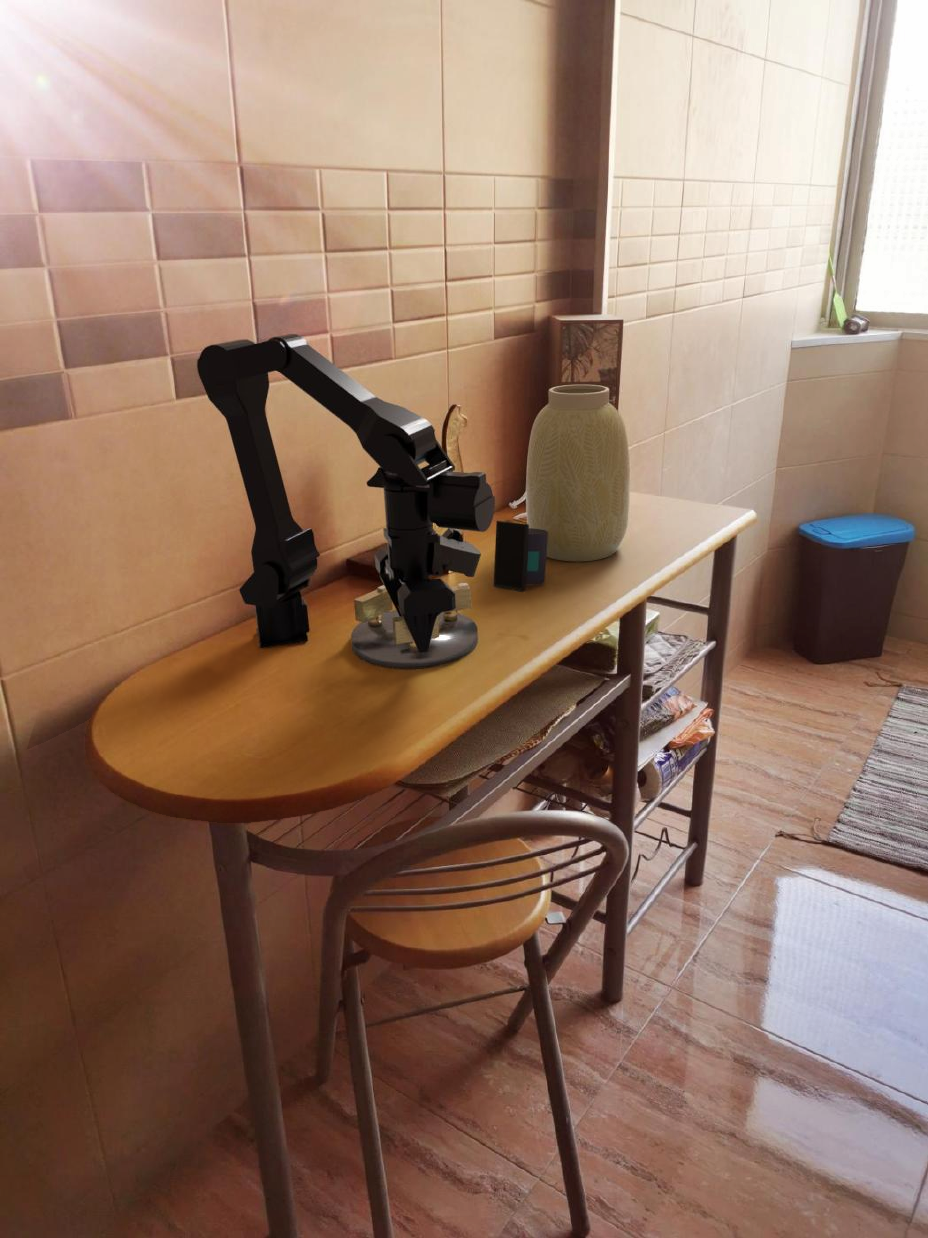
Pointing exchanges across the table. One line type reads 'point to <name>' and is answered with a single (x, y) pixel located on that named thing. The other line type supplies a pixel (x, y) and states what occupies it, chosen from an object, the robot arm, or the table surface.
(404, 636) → the knob front
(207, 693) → the table surface
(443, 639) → the plate
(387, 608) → the knob left
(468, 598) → the knob right
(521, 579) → the speaker
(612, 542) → the vase
